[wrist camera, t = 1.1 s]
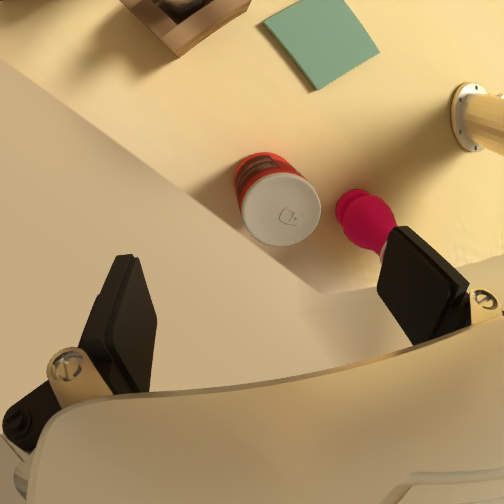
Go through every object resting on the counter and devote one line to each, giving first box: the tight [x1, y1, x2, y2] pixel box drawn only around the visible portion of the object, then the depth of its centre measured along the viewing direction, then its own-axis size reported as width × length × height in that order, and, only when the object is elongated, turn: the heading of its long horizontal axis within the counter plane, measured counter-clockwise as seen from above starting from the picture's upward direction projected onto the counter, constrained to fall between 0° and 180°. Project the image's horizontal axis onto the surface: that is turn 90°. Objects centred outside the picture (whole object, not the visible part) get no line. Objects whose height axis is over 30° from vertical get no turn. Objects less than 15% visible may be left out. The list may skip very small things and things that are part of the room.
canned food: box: [234, 152, 321, 247], centre depth 32 cm, size 8×8×11 cm
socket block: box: [120, 0, 251, 58], centre depth 22 cm, size 10×10×5 cm
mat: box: [263, 0, 380, 90], centre depth 27 cm, size 11×11×1 cm
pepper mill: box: [336, 189, 398, 264], centre depth 32 cm, size 7×7×20 cm
